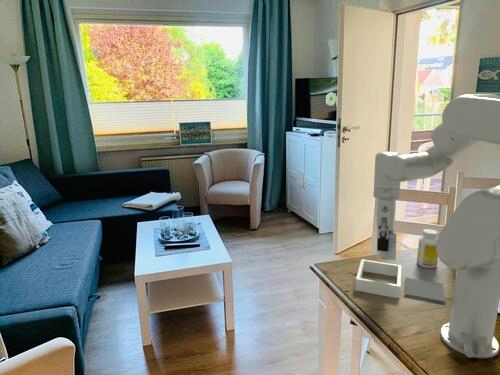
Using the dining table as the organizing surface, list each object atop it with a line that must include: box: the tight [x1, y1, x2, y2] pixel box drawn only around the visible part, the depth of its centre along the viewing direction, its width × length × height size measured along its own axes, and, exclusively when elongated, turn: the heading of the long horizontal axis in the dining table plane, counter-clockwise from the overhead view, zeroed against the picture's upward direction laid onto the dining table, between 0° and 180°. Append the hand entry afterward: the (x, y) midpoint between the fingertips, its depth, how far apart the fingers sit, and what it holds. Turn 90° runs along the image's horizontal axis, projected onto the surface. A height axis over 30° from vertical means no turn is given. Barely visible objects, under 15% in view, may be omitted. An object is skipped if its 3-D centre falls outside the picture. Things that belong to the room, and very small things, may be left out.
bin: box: [354, 259, 402, 299], centre depth 119 cm, size 15×13×4 cm
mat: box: [404, 277, 446, 304], centre depth 114 cm, size 11×11×1 cm
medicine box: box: [376, 228, 397, 261], centre depth 115 cm, size 8×4×9 cm, turn 170°
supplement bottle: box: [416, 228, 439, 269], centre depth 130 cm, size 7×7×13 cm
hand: (383, 245), depth 116 cm, fingers closed on medicine box, 8 cm apart
